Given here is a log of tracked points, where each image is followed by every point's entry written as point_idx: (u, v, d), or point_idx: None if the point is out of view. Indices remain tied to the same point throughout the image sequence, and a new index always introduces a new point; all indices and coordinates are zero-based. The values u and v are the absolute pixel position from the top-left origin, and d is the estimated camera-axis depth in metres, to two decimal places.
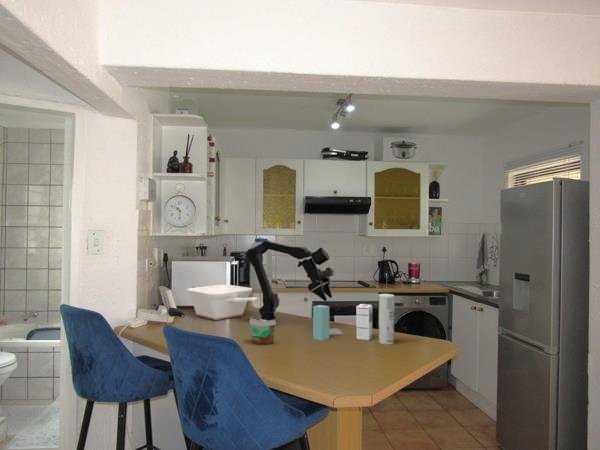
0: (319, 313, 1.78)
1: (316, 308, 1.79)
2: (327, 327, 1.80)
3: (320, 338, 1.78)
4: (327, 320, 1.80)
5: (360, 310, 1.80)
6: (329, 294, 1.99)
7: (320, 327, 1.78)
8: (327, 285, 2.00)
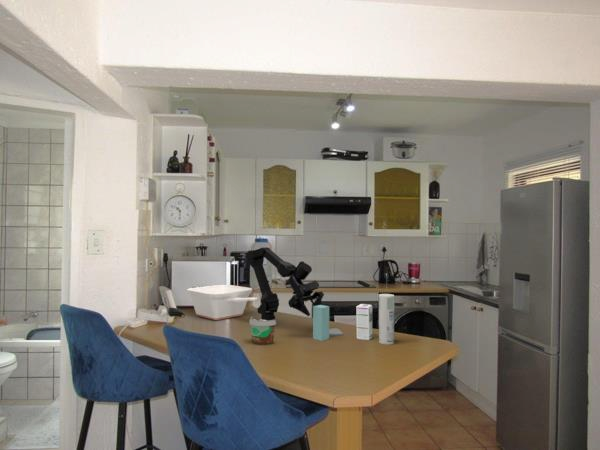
0: (319, 313, 1.78)
1: (316, 308, 1.79)
2: (327, 327, 1.80)
3: (320, 338, 1.78)
4: (327, 320, 1.80)
5: (360, 310, 1.80)
6: None
7: (320, 327, 1.78)
8: (318, 300, 1.89)
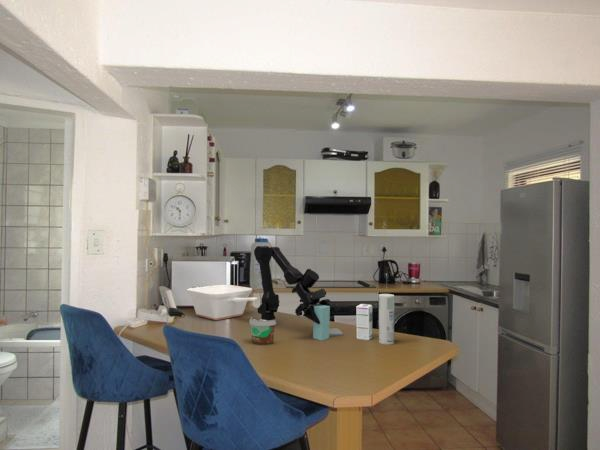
0: (319, 313, 1.78)
1: (316, 308, 1.79)
2: (327, 327, 1.80)
3: (320, 338, 1.78)
4: (327, 320, 1.80)
5: (360, 310, 1.80)
6: None
7: (320, 327, 1.78)
8: None
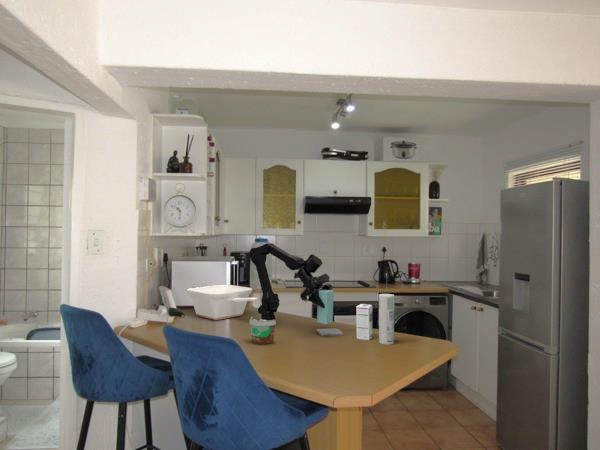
0: (324, 297, 1.81)
1: (321, 292, 1.83)
2: (331, 311, 1.84)
3: (325, 322, 1.81)
4: (331, 304, 1.84)
5: (360, 310, 1.80)
6: None
7: (325, 311, 1.81)
8: None
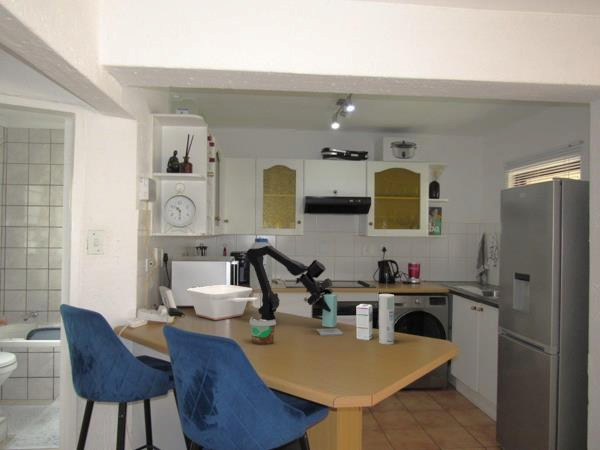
0: (330, 301, 1.88)
1: (326, 297, 1.89)
2: (335, 314, 1.91)
3: (331, 325, 1.88)
4: (335, 308, 1.91)
5: (360, 310, 1.80)
6: None
7: (331, 314, 1.88)
8: None
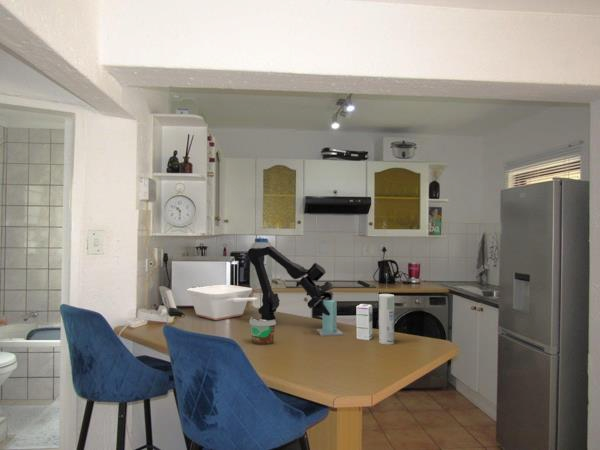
0: (329, 307, 1.88)
1: (326, 302, 1.89)
2: (335, 320, 1.91)
3: (331, 331, 1.88)
4: (335, 313, 1.91)
5: (360, 310, 1.80)
6: None
7: (331, 320, 1.88)
8: None
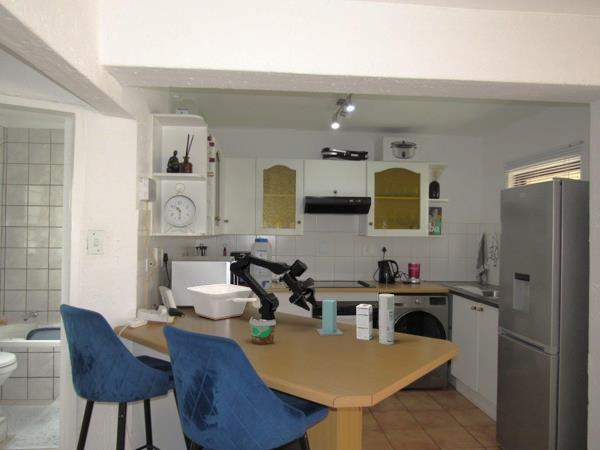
0: (330, 307, 1.88)
1: (326, 302, 1.89)
2: (335, 320, 1.91)
3: (331, 331, 1.88)
4: (335, 313, 1.91)
5: (360, 310, 1.80)
6: (315, 304, 1.99)
7: (331, 320, 1.88)
8: (312, 295, 2.00)
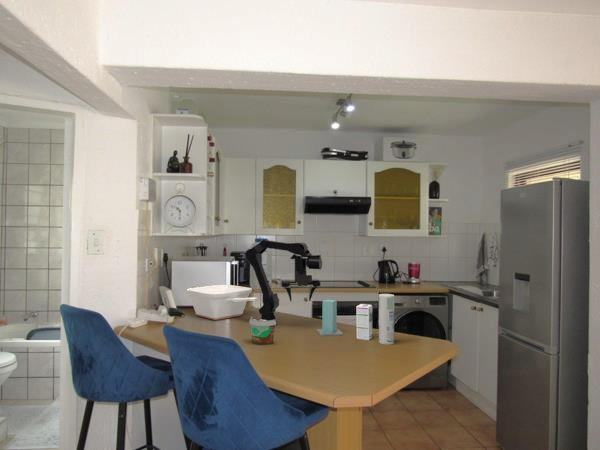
0: (330, 307, 1.88)
1: (326, 302, 1.89)
2: (335, 320, 1.91)
3: (331, 331, 1.88)
4: (335, 313, 1.91)
5: (360, 310, 1.80)
6: (309, 297, 2.00)
7: (331, 320, 1.88)
8: (311, 289, 1.99)
